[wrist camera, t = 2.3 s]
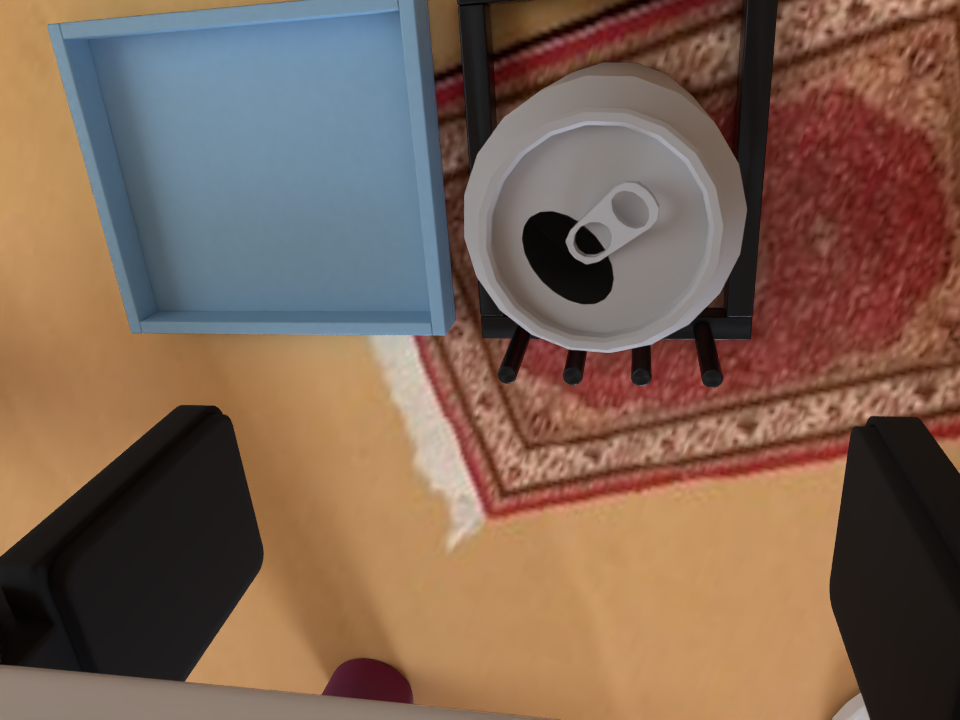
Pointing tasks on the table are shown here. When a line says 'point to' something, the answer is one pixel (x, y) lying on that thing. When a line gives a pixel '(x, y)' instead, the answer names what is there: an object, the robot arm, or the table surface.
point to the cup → (369, 682)
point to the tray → (266, 166)
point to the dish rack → (747, 151)
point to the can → (605, 210)
